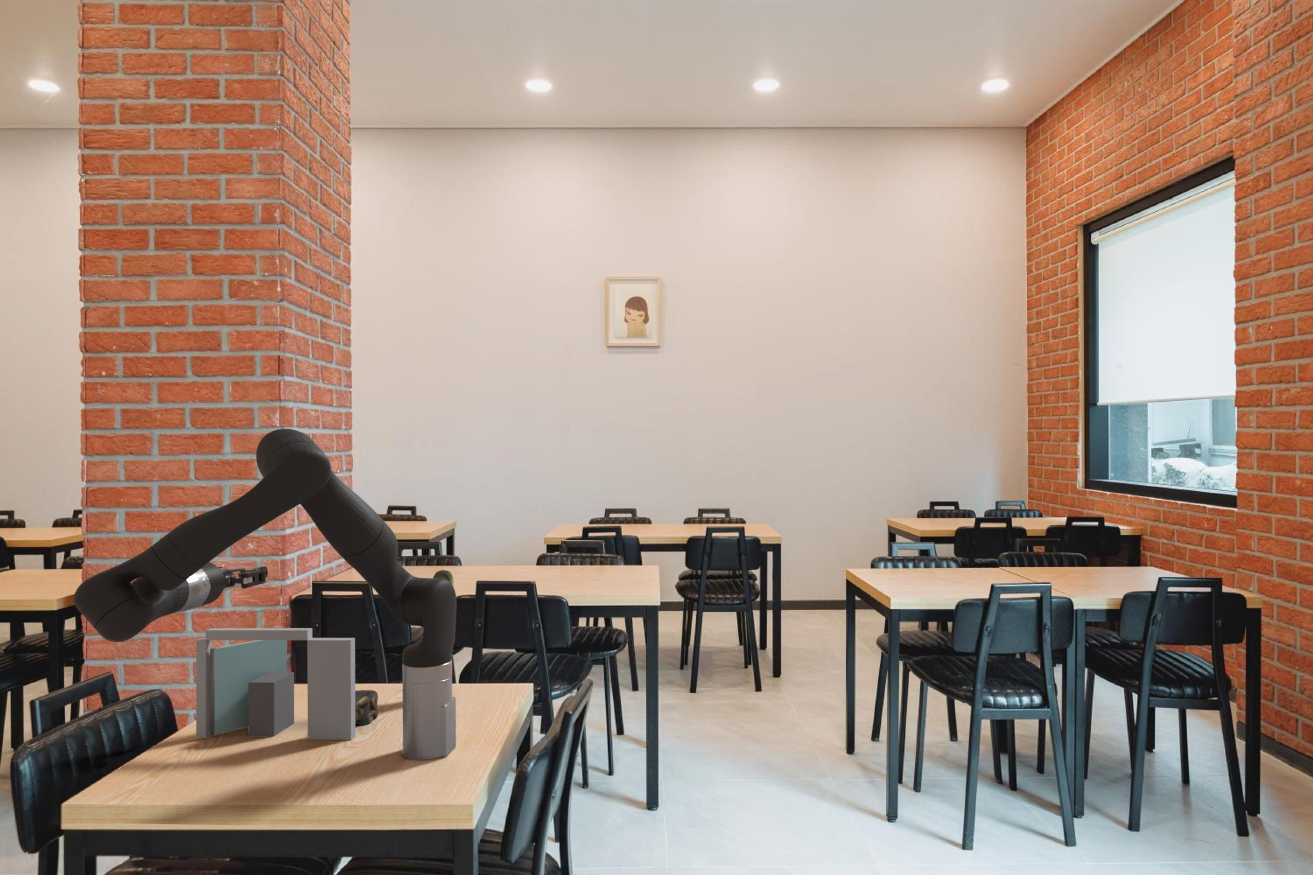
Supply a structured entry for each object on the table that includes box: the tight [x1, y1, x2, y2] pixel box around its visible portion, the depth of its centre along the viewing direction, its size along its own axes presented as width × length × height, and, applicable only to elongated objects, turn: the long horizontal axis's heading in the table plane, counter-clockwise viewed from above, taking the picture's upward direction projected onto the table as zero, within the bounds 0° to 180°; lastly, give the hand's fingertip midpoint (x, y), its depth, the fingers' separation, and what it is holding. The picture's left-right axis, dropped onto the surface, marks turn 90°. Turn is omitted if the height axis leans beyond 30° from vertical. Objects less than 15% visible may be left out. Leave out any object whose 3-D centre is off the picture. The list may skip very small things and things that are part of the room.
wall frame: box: [195, 627, 356, 741], centre depth 165 cm, size 32×2×22 cm, turn 86°
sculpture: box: [355, 689, 379, 725], centre depth 171 cm, size 13×6×7 cm, turn 176°
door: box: [210, 640, 288, 736], centre depth 171 cm, size 16×2×18 cm, turn 140°
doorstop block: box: [247, 671, 295, 738], centre depth 170 cm, size 6×8×11 cm
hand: (243, 572), depth 150 cm, fingers open, 8 cm apart
